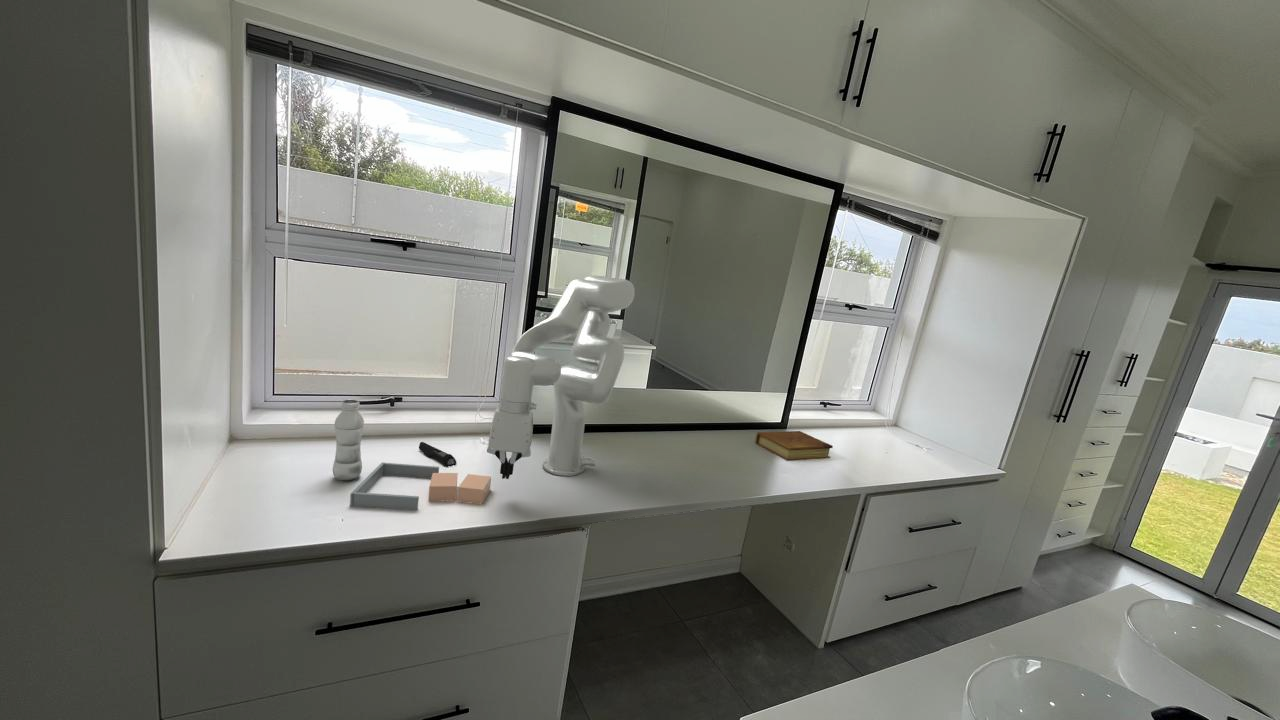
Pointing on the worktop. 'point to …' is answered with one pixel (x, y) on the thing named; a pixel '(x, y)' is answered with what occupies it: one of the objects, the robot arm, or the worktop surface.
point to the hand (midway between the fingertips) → (505, 476)
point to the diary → (793, 445)
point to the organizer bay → (387, 500)
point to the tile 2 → (474, 488)
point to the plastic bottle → (348, 441)
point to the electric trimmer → (437, 454)
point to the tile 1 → (443, 486)
